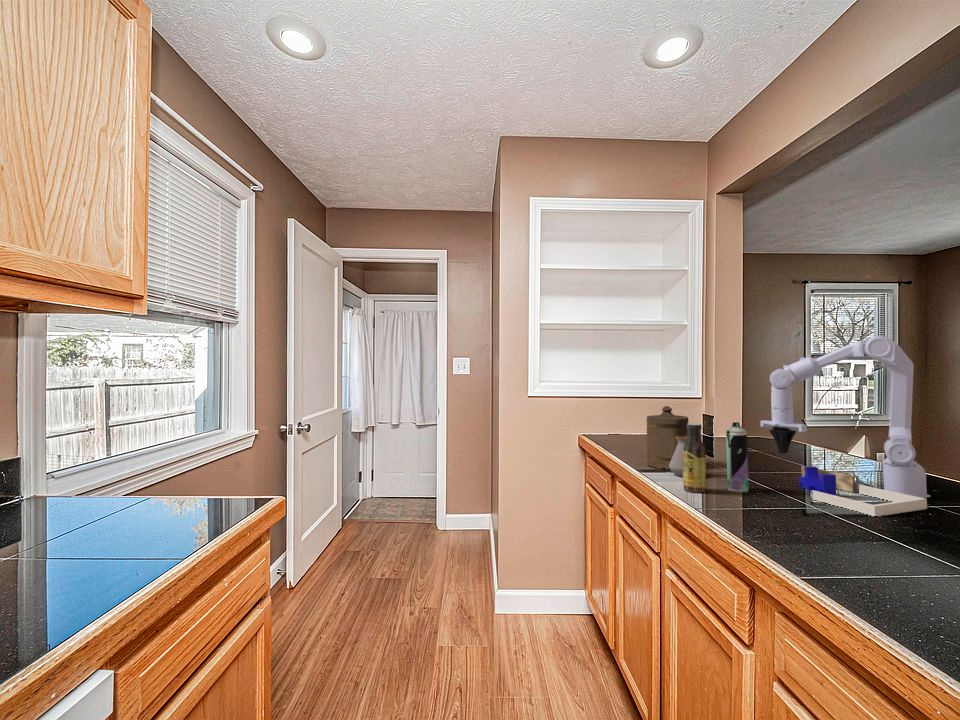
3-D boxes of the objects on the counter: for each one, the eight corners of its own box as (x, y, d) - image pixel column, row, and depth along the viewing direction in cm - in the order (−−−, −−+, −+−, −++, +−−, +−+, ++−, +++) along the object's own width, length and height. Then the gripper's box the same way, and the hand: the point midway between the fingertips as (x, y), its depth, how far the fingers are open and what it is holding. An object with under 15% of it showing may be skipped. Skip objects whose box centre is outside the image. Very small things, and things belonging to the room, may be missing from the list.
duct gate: (855, 492, 143) (855, 476, 143) (853, 492, 143) (852, 476, 143) (804, 480, 158) (803, 466, 158) (801, 480, 158) (801, 466, 158)
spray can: (740, 493, 145) (738, 423, 146) (723, 489, 150) (721, 422, 151) (752, 490, 148) (750, 422, 148) (735, 486, 153) (733, 420, 153)
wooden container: (690, 463, 191) (688, 404, 191) (689, 471, 177) (687, 408, 177) (649, 461, 197) (647, 404, 197) (645, 468, 183) (643, 407, 183)
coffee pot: (666, 471, 177) (665, 428, 178) (701, 472, 175) (700, 428, 175) (677, 485, 156) (675, 437, 157) (717, 486, 154) (715, 437, 154)
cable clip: (799, 486, 152) (799, 466, 152) (816, 486, 151) (815, 466, 151) (818, 496, 140) (817, 475, 140) (836, 497, 140) (835, 475, 140)
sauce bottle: (679, 488, 152) (677, 422, 153) (699, 487, 153) (697, 422, 153) (690, 494, 146) (688, 425, 146) (711, 493, 146) (708, 424, 147)
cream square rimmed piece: (856, 492, 143) (855, 475, 143) (927, 508, 126) (926, 489, 126) (807, 499, 137) (807, 481, 138) (875, 516, 121) (874, 496, 121)
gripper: (752, 407, 161) (753, 450, 160) (793, 410, 147) (794, 457, 147) (769, 406, 163) (770, 448, 163) (811, 409, 149) (812, 455, 149)
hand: (783, 452), depth 155 cm, fingers closed
